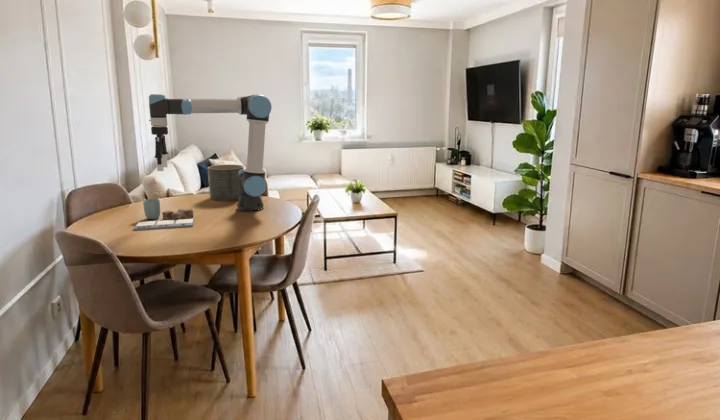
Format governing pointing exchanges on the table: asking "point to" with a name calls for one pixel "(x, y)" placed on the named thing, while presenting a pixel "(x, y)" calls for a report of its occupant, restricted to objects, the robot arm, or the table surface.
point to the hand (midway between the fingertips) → (162, 169)
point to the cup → (152, 208)
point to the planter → (224, 182)
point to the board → (164, 224)
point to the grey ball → (181, 210)
